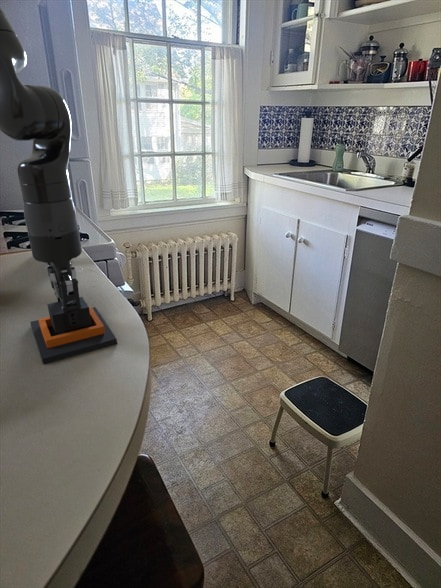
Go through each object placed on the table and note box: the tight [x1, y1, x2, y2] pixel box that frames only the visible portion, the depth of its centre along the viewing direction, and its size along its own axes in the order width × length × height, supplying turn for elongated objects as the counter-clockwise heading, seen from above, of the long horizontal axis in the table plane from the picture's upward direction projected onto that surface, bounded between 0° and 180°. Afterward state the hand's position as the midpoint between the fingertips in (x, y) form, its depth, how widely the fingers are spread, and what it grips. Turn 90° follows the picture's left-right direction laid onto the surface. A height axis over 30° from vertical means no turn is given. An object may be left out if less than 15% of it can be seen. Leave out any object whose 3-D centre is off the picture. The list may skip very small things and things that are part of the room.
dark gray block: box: [47, 296, 92, 333], centre depth 69 cm, size 6×5×4 cm
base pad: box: [30, 306, 118, 365], centre depth 70 cm, size 12×14×2 cm
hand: (70, 321), depth 69 cm, fingers closed on dark gray block, 5 cm apart
